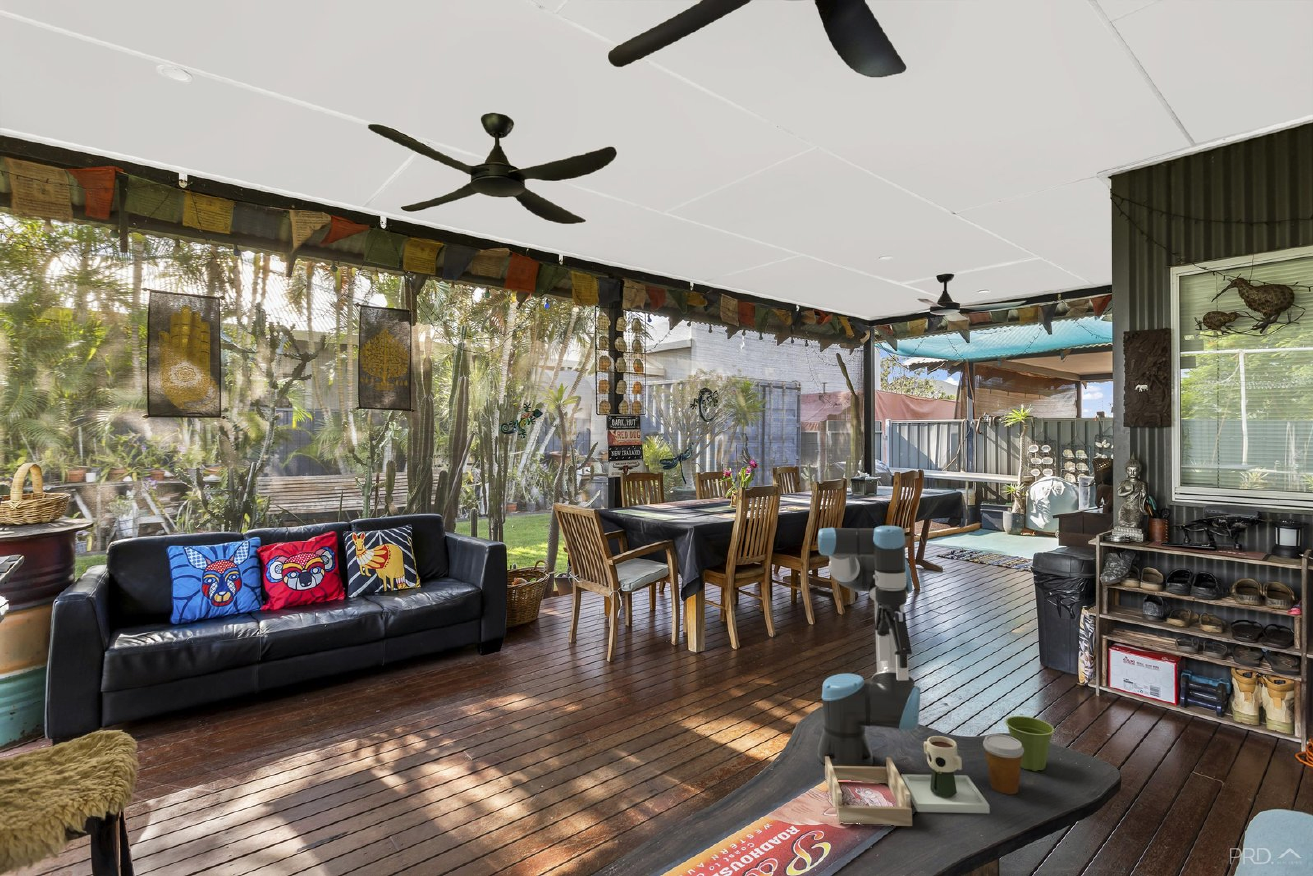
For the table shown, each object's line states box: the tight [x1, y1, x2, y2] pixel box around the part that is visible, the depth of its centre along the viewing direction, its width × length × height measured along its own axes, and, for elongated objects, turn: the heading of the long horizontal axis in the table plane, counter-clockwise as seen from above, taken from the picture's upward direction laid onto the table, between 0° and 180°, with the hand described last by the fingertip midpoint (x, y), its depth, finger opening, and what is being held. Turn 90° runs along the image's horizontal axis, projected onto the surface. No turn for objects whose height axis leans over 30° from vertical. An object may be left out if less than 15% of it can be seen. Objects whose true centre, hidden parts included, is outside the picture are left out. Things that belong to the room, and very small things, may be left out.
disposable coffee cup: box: [982, 733, 1024, 795], centre depth 171 cm, size 10×10×12 cm
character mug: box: [923, 735, 963, 797], centre depth 167 cm, size 11×7×13 cm, turn 29°
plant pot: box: [1004, 715, 1055, 772], centre depth 182 cm, size 12×12×11 cm
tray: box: [900, 773, 990, 814], centre depth 167 cm, size 14×17×2 cm
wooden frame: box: [824, 756, 913, 827], centre depth 166 cm, size 20×17×7 cm
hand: (893, 669), depth 168 cm, fingers open, 13 cm apart
